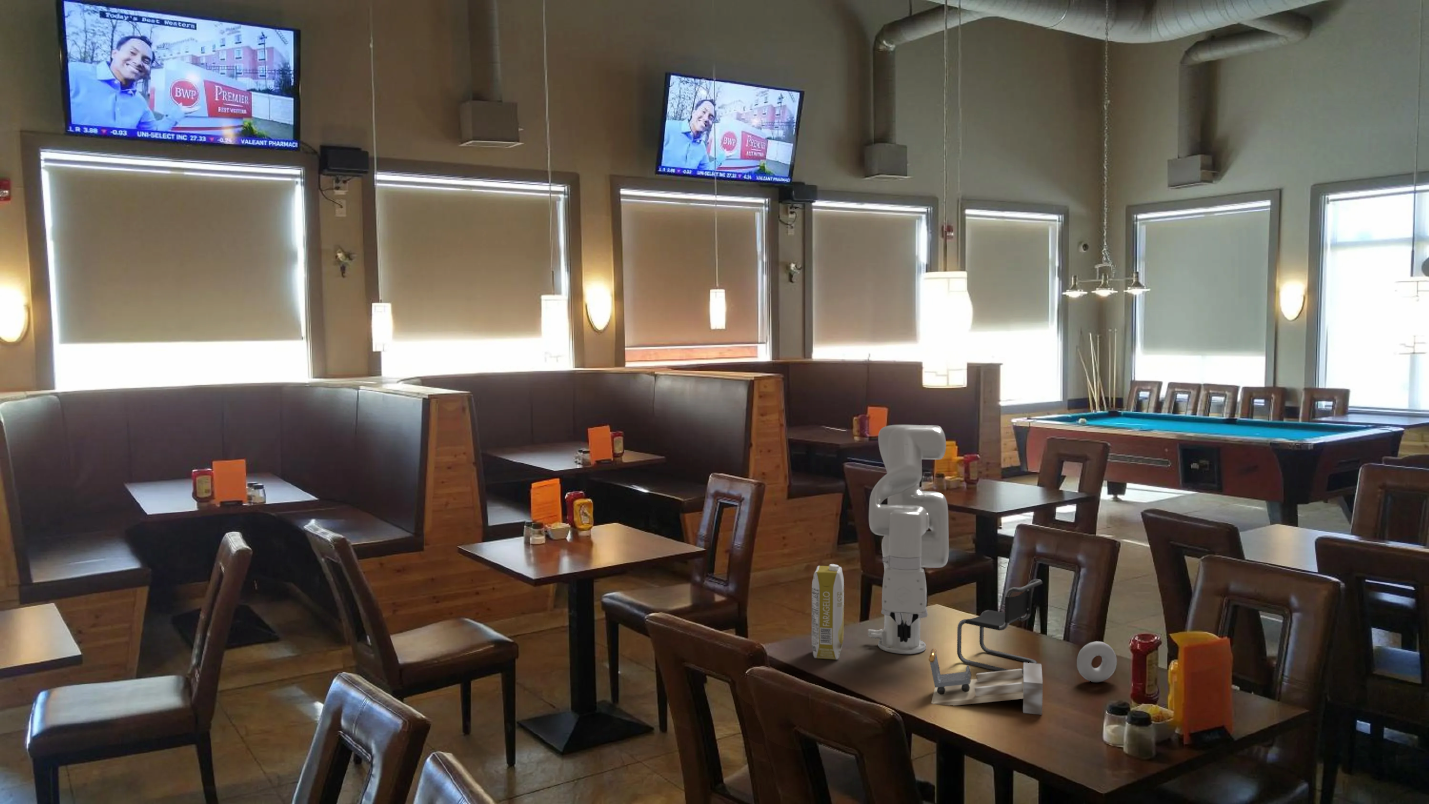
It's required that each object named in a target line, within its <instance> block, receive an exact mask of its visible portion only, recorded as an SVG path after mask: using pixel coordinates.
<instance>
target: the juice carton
mask: <svg viewBox="0 0 1429 804" xmlns="http://www.w3.org/2000/svg"><path fill="white" fill-rule="evenodd" d="M844 582H845V581H844V574H843V568H842V566H839V565H838V564H834V563H831V564H829V565H818V566H816V569H815V571H814V573H813V578H812V582H811V583H812V584H811V648H812V655H813V658H814V659H820V660H821V659H824V660H839V658H840V655H841V651H842V647H843V644H844V631H845V630H844V620H845V619H844V618H845V617H844V615H845V614H844V612H845V611H844V610H845V608H844V607H845V604H844V603H845V597H844V596H845V590H844V589H845V585H844V584H845V583H844Z"/></svg>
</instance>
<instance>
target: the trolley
mask: <svg viewBox="0 0 1429 804" xmlns="http://www.w3.org/2000/svg"><path fill="white" fill-rule="evenodd" d="M938 661H939V659H938V656H937V650H936V648H931V650H930V654H929V657H928V662H929V664H930V668H931V669H930V670H931V675H932V679H933V684H934V689H935V688H936V687H938V688H937V692H938V694H940V695H943V694H944V693H945V688H944V687H945V686H955V685H962V691H964V692H968V691H969V689H970V686H969V685H968V684H970V682H971V679H972V672H971V667H970V665H966V668H965V671H961V672H959V671H958V672H951V673H943V674H941V671H940V666H939V662H938Z"/></svg>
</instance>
